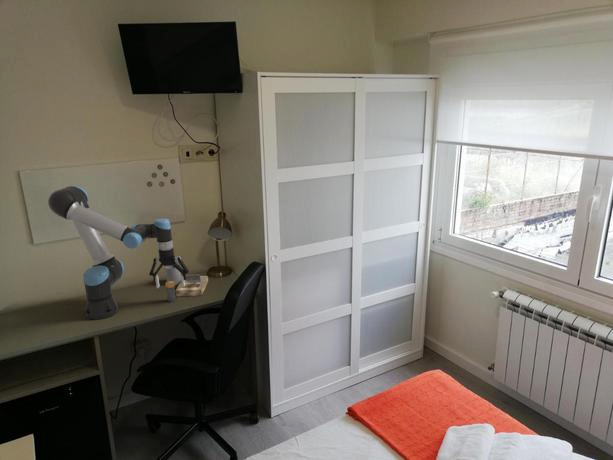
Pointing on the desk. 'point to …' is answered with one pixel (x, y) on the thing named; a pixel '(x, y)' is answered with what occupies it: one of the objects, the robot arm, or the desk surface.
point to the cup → (173, 274)
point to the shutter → (194, 279)
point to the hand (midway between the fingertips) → (171, 286)
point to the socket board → (192, 288)
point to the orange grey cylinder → (170, 291)
